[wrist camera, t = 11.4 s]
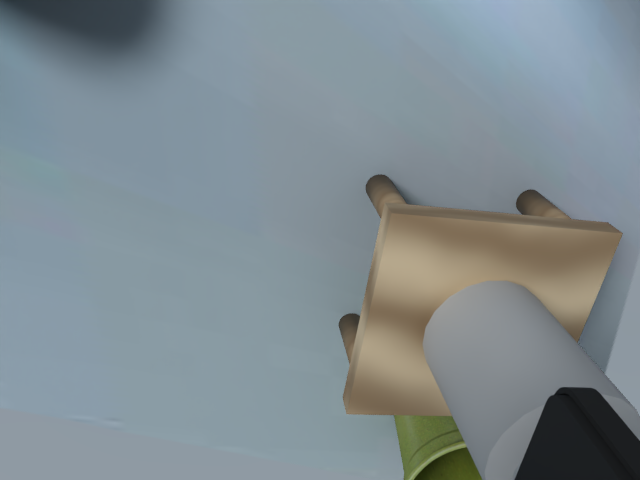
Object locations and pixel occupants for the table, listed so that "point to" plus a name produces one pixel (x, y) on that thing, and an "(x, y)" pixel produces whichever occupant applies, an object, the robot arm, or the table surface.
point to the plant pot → (433, 449)
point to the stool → (458, 285)
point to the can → (506, 370)
